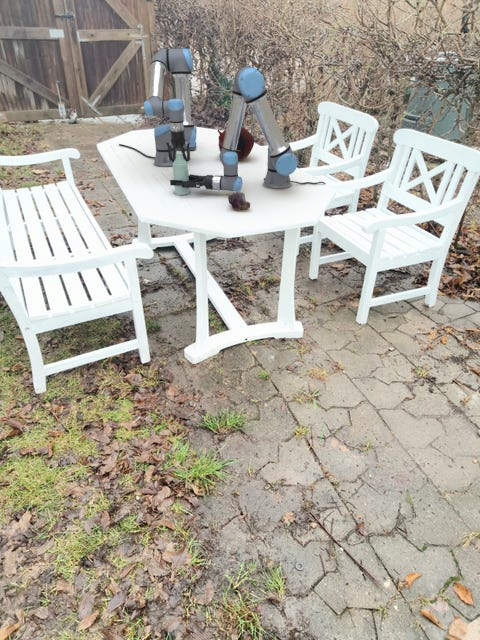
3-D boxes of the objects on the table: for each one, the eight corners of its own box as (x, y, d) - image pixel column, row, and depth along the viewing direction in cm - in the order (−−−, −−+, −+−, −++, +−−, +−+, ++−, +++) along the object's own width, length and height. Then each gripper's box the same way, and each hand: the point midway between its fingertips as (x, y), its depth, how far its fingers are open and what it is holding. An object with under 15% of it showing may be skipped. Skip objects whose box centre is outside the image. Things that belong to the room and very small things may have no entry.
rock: (241, 205, 233) (224, 208, 228) (240, 189, 229) (223, 191, 225) (252, 209, 223) (235, 212, 219) (252, 191, 219) (234, 194, 215)
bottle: (174, 195, 244) (170, 154, 232) (176, 190, 251) (172, 151, 239) (188, 194, 244) (185, 154, 232) (190, 190, 251) (187, 150, 239)
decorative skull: (215, 132, 306) (215, 129, 282) (249, 124, 305) (251, 121, 281) (222, 164, 313) (222, 164, 289) (255, 157, 312) (258, 156, 288)
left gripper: (160, 131, 246) (164, 174, 259) (191, 132, 243) (193, 175, 256) (164, 128, 252) (168, 170, 265) (194, 129, 249) (197, 171, 262)
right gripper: (208, 195, 234) (167, 193, 238) (218, 183, 251) (179, 181, 255) (207, 181, 230) (165, 178, 234) (218, 169, 247) (178, 167, 251)
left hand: (180, 173), depth 260 cm, fingers closed on cap, 4 cm apart
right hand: (173, 180), depth 244 cm, fingers closed on bottle, 8 cm apart
